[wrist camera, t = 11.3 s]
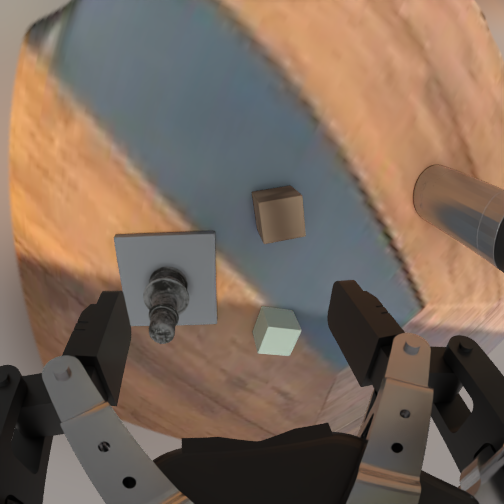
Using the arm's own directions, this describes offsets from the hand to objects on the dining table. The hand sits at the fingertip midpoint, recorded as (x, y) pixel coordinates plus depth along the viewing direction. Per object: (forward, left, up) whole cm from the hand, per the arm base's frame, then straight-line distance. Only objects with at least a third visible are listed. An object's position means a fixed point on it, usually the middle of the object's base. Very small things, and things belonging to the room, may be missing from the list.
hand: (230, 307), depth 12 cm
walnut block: (-8, +5, -28) cm, 30 cm away
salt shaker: (+6, +15, -27) cm, 31 cm away
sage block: (-9, +23, -28) cm, 37 cm away
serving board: (+6, +15, -28) cm, 32 cm away
